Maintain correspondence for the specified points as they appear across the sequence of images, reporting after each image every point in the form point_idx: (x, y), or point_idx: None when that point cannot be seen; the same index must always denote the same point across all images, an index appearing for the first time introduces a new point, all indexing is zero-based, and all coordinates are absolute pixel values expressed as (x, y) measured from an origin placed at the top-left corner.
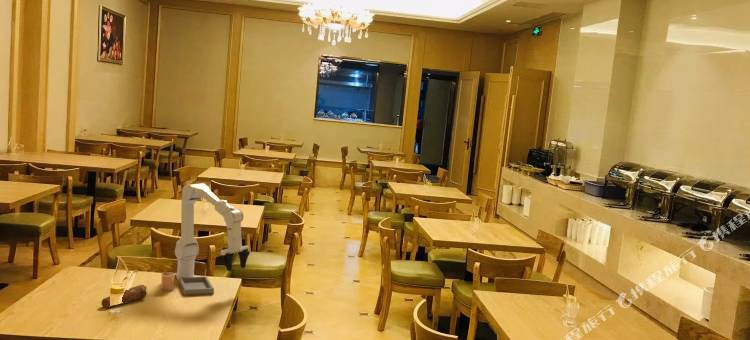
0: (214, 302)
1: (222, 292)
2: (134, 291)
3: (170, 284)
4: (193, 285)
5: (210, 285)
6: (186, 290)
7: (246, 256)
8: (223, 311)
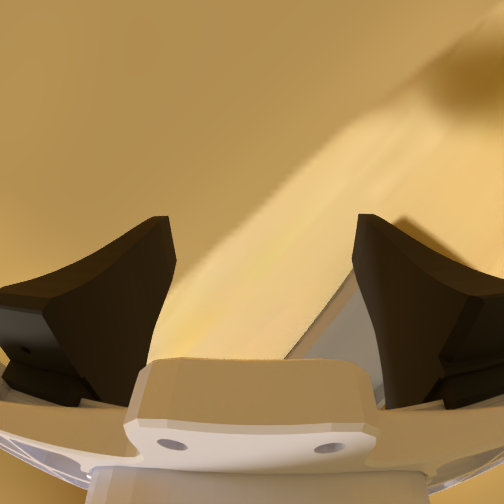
0: (457, 131)
1: (320, 227)
2: None
3: None
4: (359, 365)
5: (360, 298)
6: None
7: (77, 274)
8: (488, 24)
